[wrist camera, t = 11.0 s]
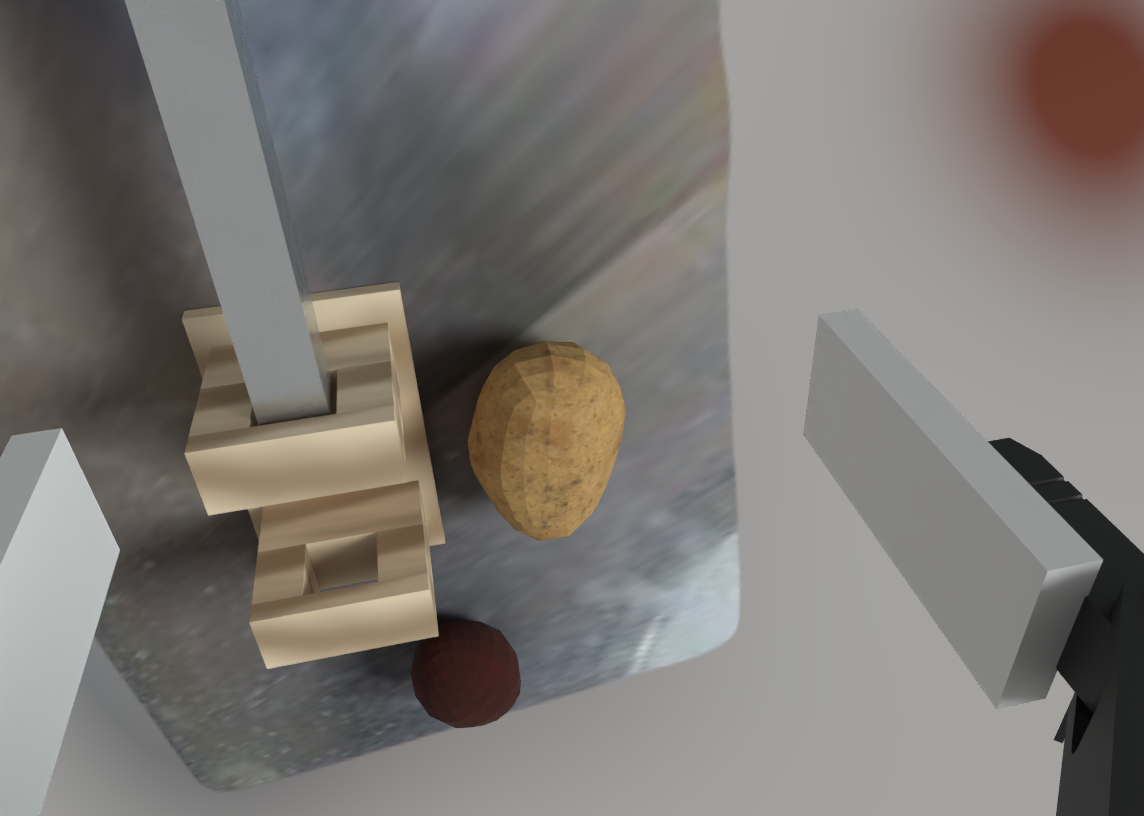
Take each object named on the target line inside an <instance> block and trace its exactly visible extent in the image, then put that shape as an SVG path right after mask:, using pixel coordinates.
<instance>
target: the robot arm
mask: <svg viewBox="0 0 1144 816" xmlns="http://www.w3.org/2000/svg"><path fill="white" fill-rule="evenodd" d="M803 435H804V436H805V438H806V439H807V440H808V442H809V443H810V445H811V446H812V448H813V449H814V450H815V452H816V453H817V455H818V456H819V458H820V459H821V460H822V462H823V463H824V465H825V466H826V467H827V469H828V470H829V472H830V473H831V475H832V476H833V477H834V479H835V480H836V482H837V483H838V484H839V486H840V487H841V489H842V490H843V492H844V493H845V494H846V496H847V497H848V499H849V500H850V502H851V503H852V504H853V506H854V507H855V509H856V510H857V511H858V513H859V514H860V516H861V517H862V519H863V520H864V521H865V523H866V524H867V526H868V527H869V528H870V530H871V531H872V533H873V534H874V536H875V537H876V538H877V540H878V541H879V543H880V544H881V545H882V547H883V549H884V550H885V551H886V553H887V554H888V556H889V557H890V558H891V560H892V561H893V563H894V564H895V566H896V567H897V568H898V570H899V571H900V573H901V574H902V576H903V577H904V578H905V580H906V581H907V583H908V584H909V585H910V587H911V588H912V590H913V591H914V593H915V594H916V595H917V597H918V598H919V600H920V601H921V602H922V604H923V605H924V607H925V608H926V610H927V611H928V612H929V614H930V615H931V617H932V618H933V620H934V621H935V622H936V624H937V625H938V627H939V628H940V629H941V631H942V632H943V634H944V635H945V637H946V638H947V639H948V641H949V642H950V644H951V645H952V646H953V648H954V649H955V651H956V652H957V654H958V655H959V657H960V658H961V659H962V661H963V662H964V664H965V665H966V666H967V668H968V669H969V671H970V672H971V674H972V675H973V676H974V678H975V679H976V681H977V682H978V684H979V685H980V686H981V688H982V689H983V691H984V692H985V693H986V695H987V696H988V698H989V699H990V701H991V702H992V703H993V705H994V706H995V708H996V709H999V708H1004V707H1008V706H1013V705H1017V704H1022V703H1026V702H1031V701H1035V700H1040V699H1045V698H1046V696H1047V694H1048V691H1049V689H1050V686H1051V684H1052V682H1053V679H1054V677H1055V674H1056V672H1057V670H1058V671H1059V672H1060V674H1061V675H1062V676H1063V678H1064V679H1065V680H1066V681H1067V683H1068V684H1069V685H1070V686H1071V688H1072V689H1073V690H1074V691H1075V693H1074V696H1073V698H1072V700H1071V702H1070V705H1069V707H1068V709H1067V712H1066V714H1065V716H1064V718H1063V720H1062V723H1061V725H1060V727H1059V729H1058V732H1057V734H1056V736H1055V739H1054V740H1055V741H1058V742H1061V743H1063V741H1064V739H1065V742H1064V751H1063V759H1062V768H1061V777H1060V786H1059V795H1058V803H1057V812H1056V816H1144V554H1143V553H1142V552H1141V551H1140V550H1139V549H1138V548H1137V547H1136V546H1135V545H1134V544H1133V543H1132V542H1131V541H1130V540H1129V539H1128V538H1127V537H1126V536H1125V535H1124V534H1123V533H1122V532H1121V531H1120V530H1119V529H1117V528H1116V527H1115V526H1114V525H1113V524H1112V523H1111V522H1110V521H1109V520H1108V519H1107V518H1106V517H1105V516H1104V515H1103V514H1102V513H1101V512H1100V511H1099V510H1098V509H1097V508H1096V507H1095V506H1094V505H1093V504H1092V503H1090V502H1089V501H1088V500H1087V499H1085V500H1084V499H1083V498H1082V494H1081V493H1080V492H1079V491H1078V490H1077V489H1076V488H1075V487H1074V486H1072V484H1071V483H1070V482H1069V481H1066V482H1065V481H1064V477H1063V476H1062V475H1061V474H1060V473H1059V472H1058V471H1057V470H1056V469H1055V468H1054V467H1053V466H1052V465H1051V464H1050V463H1049V462H1048V461H1047V460H1046V459H1045V458H1044V457H1043V456H1042V455H1040V454H1038V453H1036V452H1035V451H1033V450H1031V449H1029V448H1027V447H1025V446H1023V445H1022V444H1020V443H1018V442H1016V441H1014V440H1013V439H1011V438H1005V439H1000V440H994V441H986V439H984V437H983V436H982V435H981V434H980V433H979V432H978V431H977V430H976V429H975V428H974V427H973V426H972V425H971V424H970V423H969V422H968V421H967V420H966V419H965V418H964V417H963V416H962V415H961V414H960V413H959V412H958V411H957V410H956V409H955V408H954V407H953V406H952V405H951V404H950V403H949V402H948V401H947V399H946V398H945V397H944V396H943V395H942V394H941V393H940V392H939V391H938V390H937V389H936V388H935V387H934V386H933V385H932V384H931V383H930V382H929V381H928V380H927V379H926V378H925V377H924V376H923V375H922V374H921V373H920V372H919V371H918V370H917V369H916V368H915V367H914V366H913V365H912V364H911V363H910V362H909V361H908V360H907V359H906V358H905V357H904V356H903V355H902V353H901V352H899V350H898V349H896V347H895V346H894V345H893V344H892V343H891V342H890V341H889V340H888V339H887V338H886V337H885V336H884V335H883V334H882V333H881V332H880V331H879V330H878V329H877V328H876V327H875V326H874V325H873V324H872V323H871V322H870V321H869V320H868V319H867V318H866V317H865V316H864V315H863V314H862V313H861V312H860V311H859V310H858V309H854V310H848V311H841V312H834V313H828V314H821V315H819V318H818V325H817V333H816V341H815V349H814V356H813V364H812V372H811V380H810V388H809V396H808V403H807V410H806V418H805V426H804V434H803ZM119 551H120V549H119V547H118V545H117V543H116V541H115V539H114V537H113V535H112V532H111V530H110V528H109V526H108V524H107V522H106V520H105V518H104V516H103V514H102V511H101V509H100V507H99V505H98V503H97V501H96V499H95V497H94V495H93V493H92V490H91V488H90V486H89V484H88V482H87V480H86V478H85V476H84V474H83V471H82V469H81V467H80V465H79V463H78V461H77V459H76V457H75V455H74V453H73V450H72V448H71V446H70V444H69V442H68V440H67V438H66V436H65V434H64V432H63V429H62V428H59V429H53V430H46V431H39V432H33V433H26V434H19V435H13V436H11V438H10V440H9V442H8V444H7V446H6V448H5V450H4V452H3V454H2V455H1V457H0V816H40V813H41V810H42V806H43V803H44V800H45V796H46V793H47V790H48V786H49V783H50V780H51V776H52V773H53V770H54V767H55V763H56V760H57V756H58V753H59V750H60V747H61V743H62V740H63V737H64V733H65V730H66V727H67V723H68V720H69V717H70V714H71V710H72V707H73V704H74V700H75V697H76V694H77V690H78V687H79V684H80V680H81V677H82V674H83V671H84V667H85V664H86V661H87V657H88V654H89V651H90V647H91V644H92V641H93V637H94V634H95V631H96V627H97V624H98V621H99V618H100V614H101V611H102V608H103V604H104V601H105V598H106V594H107V591H108V588H109V584H110V581H111V578H112V574H113V571H114V568H115V565H116V561H117V558H118V555H119Z"/></svg>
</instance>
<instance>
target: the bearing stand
mask: <svg viewBox="0 0 1144 816" xmlns="http://www.w3.org/2000/svg"><path fill="white" fill-rule="evenodd" d="M310 295H311V299H312V303H313V308H314V312H315V316H316V320H317V324H318V328H319V332H320V336H321V340H322V344H323V348H324V352H325V356H326V360H327V364H328V368H329V372H330V376H331V381H332V385H333V389H334V393H335V397H336V401H337V414H333V415H326V416H320V417H313V418H307V419H300V420H294V421H287V422H281V423H274V424H268V425H261V426H259V425H258V422H257V419H256V416H255V413H254V409H253V406H252V403H251V400H250V397H249V394H248V390H247V387H246V384H245V381H244V378H243V375H242V371H241V368H240V365H239V362H238V359H237V355H236V352H235V349H234V346H233V343H232V340H231V336H230V333H229V330H228V327H227V324H226V321H225V317H224V314H223V311H222V308H221V306H216V307H209V308H201V309H194V310H186V311H184V314H183V317H182V321H183V324H184V327H185V330H186V333H187V336H188V339H189V342H190V344H191V347H192V350H193V353H194V356H195V359H196V362H197V365H198V368H199V370H200V373H201V376H202V379H203V380H202V384H201V388H200V392H199V396H198V401H197V405H196V409H195V413H194V417H193V421H192V425H191V429H190V433H189V437H188V441H187V445H186V449H185V453H184V454H185V456H186V459H187V461H188V464H189V467H190V469H191V472H192V474H193V477H194V480H195V482H196V485H197V487H198V490H199V493H200V495H201V498H202V500H203V503H204V506H205V508H206V511H207V513H208V515H214V514H220V513H226V512H233V511H239V510H245V509H248V511H249V514H250V517H251V520H252V523H253V526H254V529H255V532H256V535H257V537H258V540H259V546H258V555H257V563H256V571H255V580H254V588H253V596H252V605H251V613H250V621H249V623H250V626H251V628H252V631H253V633H254V636H255V639H256V641H257V644H258V646H259V649H260V652H261V654H262V657H263V659H264V662H265V665H266V667H267V669H269V668H274V667H280V666H285V665H290V664H295V663H301V662H306V661H311V660H316V659H321V658H327V657H332V656H337V655H342V654H348V653H353V652H358V651H363V650H369V649H374V648H379V647H384V646H390V645H395V644H400V643H405V642H411V641H416V640H421V639H426V638H432V637H437V636H439V634H438V624H437V615H436V605H435V596H434V586H433V577H432V567H431V558H430V548H429V546H433V545H438V544H444V543H445V537H444V530H443V525H442V519H441V514H440V508H439V502H438V497H437V491H436V486H435V480H434V475H433V469H432V464H431V458H430V452H429V447H428V441H427V436H426V430H425V425H424V419H423V414H422V408H421V402H420V397H419V391H418V386H417V380H416V375H415V369H414V363H413V358H412V352H411V347H410V341H409V336H408V330H407V325H406V319H405V313H404V308H403V302H402V297H401V291H400V286H399V282H394V283H386V284H379V285H371V286H364V287H357V288H349V289H342V290H334V291H327V292H320V293H312V294H310ZM376 579H378V582H374V583H369V584H363V585H357V586H352V587H346V588H341V589H335V590H330V591H324V592H320V589H326V588H331V587H337V586H342V585H348V584H353V583H359V582H364V581H370V580H376Z"/></svg>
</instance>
